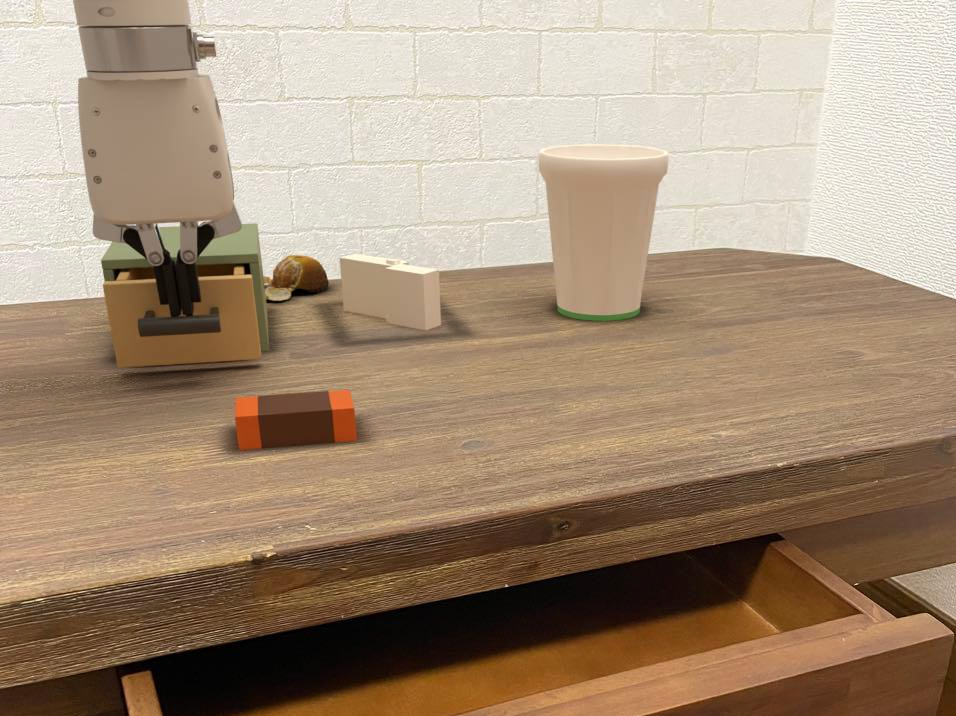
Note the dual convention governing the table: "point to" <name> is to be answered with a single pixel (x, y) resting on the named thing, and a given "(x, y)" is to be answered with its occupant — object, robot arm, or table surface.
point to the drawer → (183, 319)
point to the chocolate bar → (295, 419)
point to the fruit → (295, 277)
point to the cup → (601, 225)
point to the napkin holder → (391, 290)
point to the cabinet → (203, 262)
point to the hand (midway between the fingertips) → (182, 312)
